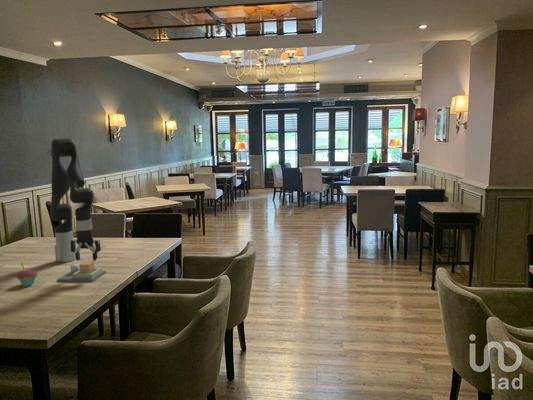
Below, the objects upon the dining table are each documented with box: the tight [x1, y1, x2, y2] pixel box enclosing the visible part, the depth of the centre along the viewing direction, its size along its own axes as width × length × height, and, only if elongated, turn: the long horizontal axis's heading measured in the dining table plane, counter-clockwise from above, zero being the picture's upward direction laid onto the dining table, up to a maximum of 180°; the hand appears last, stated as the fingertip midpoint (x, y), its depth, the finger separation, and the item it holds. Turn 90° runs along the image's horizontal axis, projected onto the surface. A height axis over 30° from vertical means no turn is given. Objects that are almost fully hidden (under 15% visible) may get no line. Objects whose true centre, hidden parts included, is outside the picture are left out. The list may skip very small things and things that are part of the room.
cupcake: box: [16, 261, 39, 287], centre depth 191 cm, size 9×8×12 cm
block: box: [79, 261, 96, 273], centre depth 201 cm, size 5×5×6 cm
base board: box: [56, 263, 107, 283], centre depth 201 cm, size 18×14×5 cm
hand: (86, 260), depth 200 cm, fingers open, 8 cm apart
